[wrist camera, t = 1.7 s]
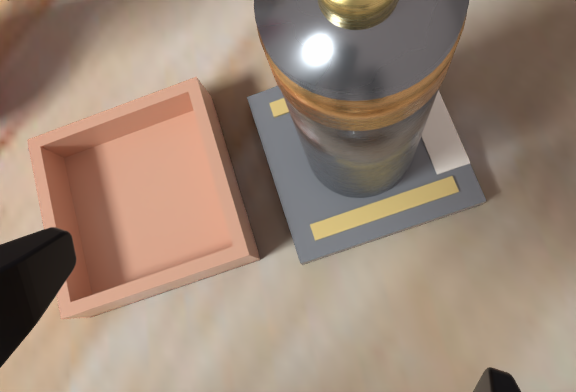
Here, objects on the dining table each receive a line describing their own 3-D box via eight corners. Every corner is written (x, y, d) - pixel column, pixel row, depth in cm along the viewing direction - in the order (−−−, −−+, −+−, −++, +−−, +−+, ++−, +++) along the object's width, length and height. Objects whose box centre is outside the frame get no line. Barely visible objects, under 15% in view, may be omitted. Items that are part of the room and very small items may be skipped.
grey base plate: (302, 265, 23) (300, 263, 22) (250, 103, 25) (246, 96, 25) (482, 204, 23) (487, 200, 22) (412, 44, 25) (414, 34, 24)
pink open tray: (90, 317, 24) (61, 319, 22) (57, 154, 27) (27, 139, 24) (260, 259, 24) (249, 255, 21) (211, 97, 26) (196, 76, 23)
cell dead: (325, 214, 23) (282, 109, 10) (291, 116, 24) (216, -84, 12) (432, 177, 22) (524, 21, 10) (392, 80, 24) (428, -167, 11)
